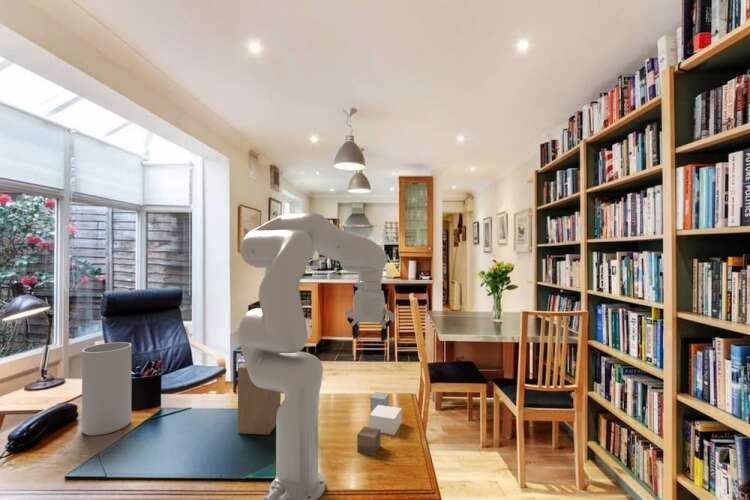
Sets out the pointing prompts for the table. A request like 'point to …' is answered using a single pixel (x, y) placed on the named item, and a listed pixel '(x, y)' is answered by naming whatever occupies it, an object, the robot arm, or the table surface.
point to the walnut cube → (369, 440)
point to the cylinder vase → (106, 388)
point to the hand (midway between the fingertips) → (369, 339)
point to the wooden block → (255, 406)
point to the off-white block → (385, 419)
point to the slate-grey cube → (379, 400)
